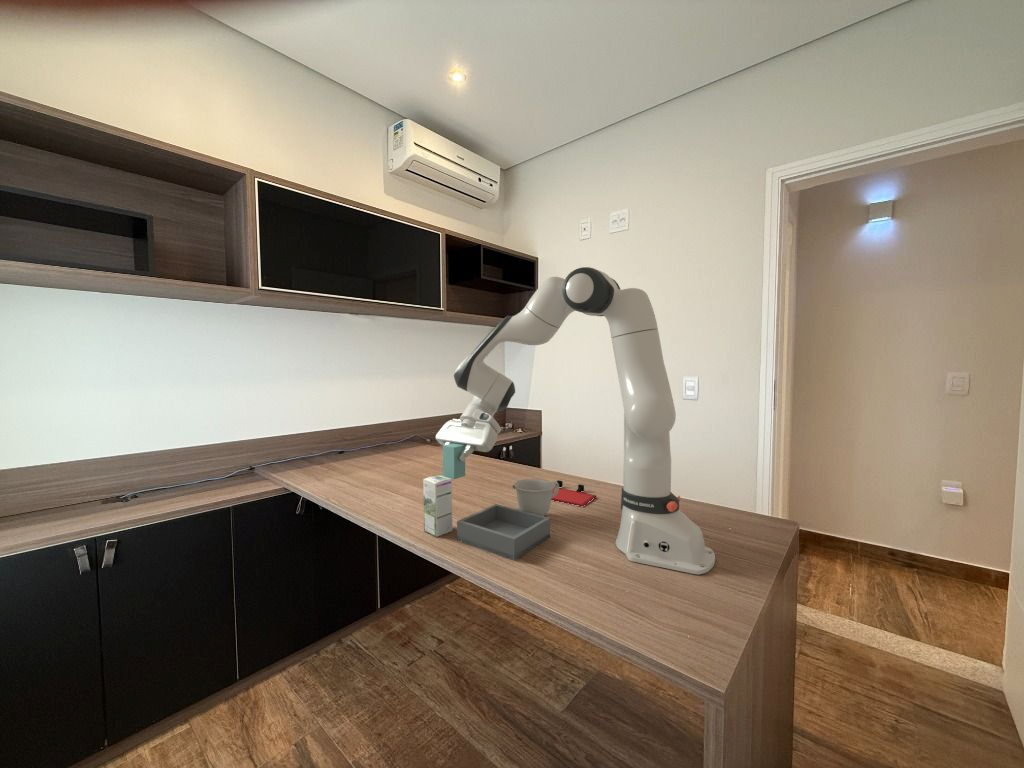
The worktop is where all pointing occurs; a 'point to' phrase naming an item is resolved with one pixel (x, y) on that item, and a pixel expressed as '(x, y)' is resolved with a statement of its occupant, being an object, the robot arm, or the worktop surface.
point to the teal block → (453, 461)
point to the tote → (504, 530)
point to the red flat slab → (572, 495)
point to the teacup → (535, 495)
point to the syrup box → (437, 505)
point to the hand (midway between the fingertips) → (452, 458)
